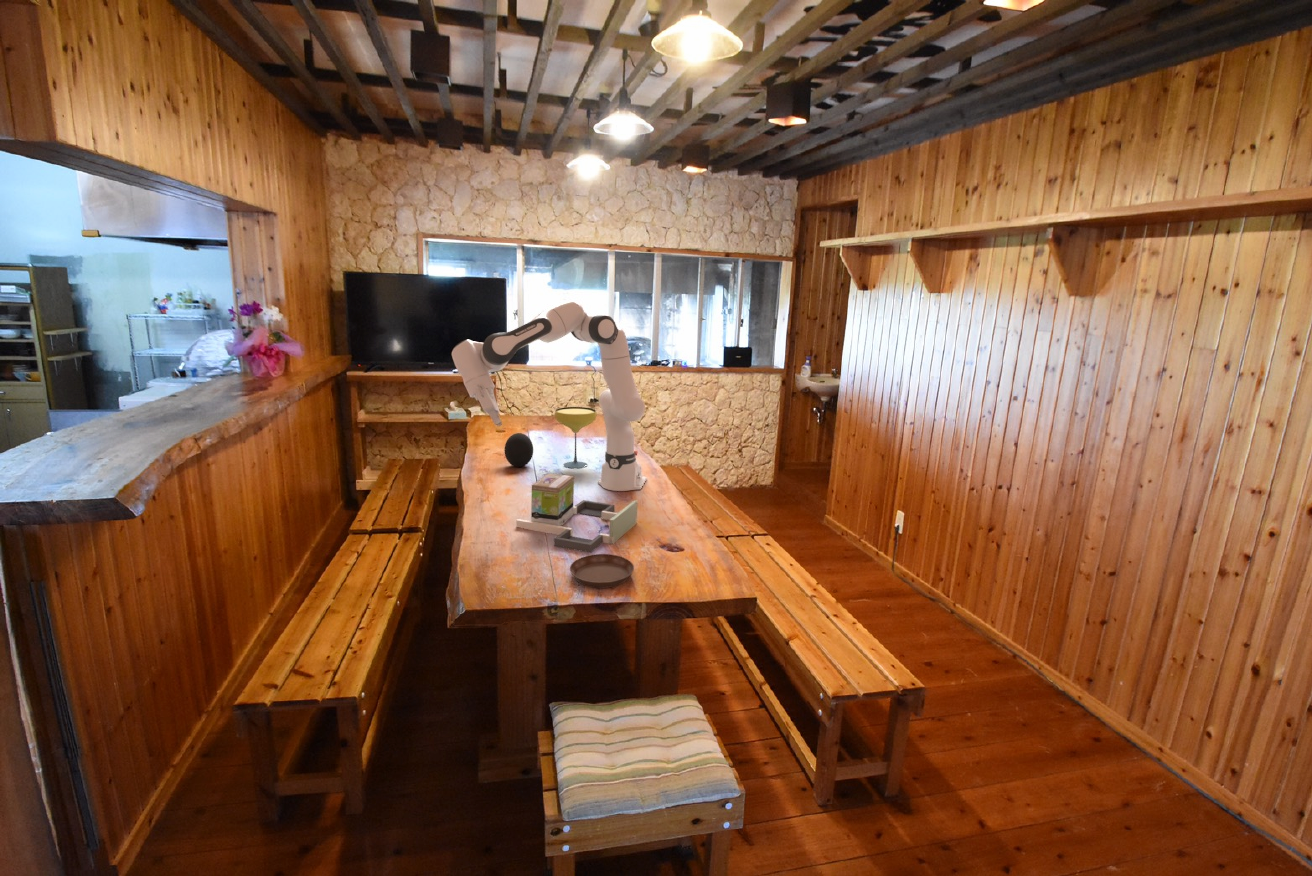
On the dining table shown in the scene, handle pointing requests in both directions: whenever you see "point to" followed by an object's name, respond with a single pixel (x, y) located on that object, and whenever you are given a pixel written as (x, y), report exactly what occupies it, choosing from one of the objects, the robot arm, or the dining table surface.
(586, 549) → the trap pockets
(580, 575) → the plant saucer
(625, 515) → the channel
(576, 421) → the cocktail glass
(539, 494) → the tea box
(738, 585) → the dining table surface
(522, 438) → the decorative egg
